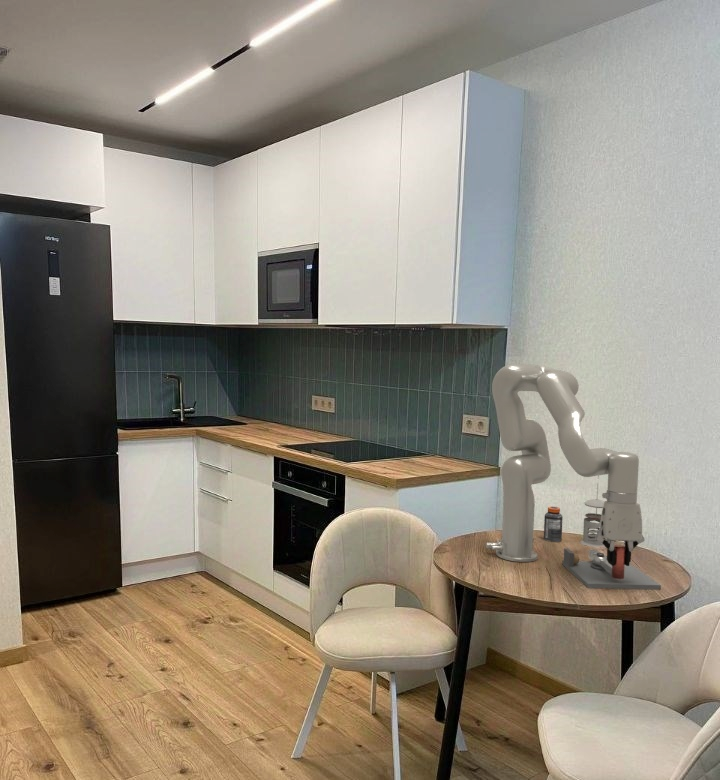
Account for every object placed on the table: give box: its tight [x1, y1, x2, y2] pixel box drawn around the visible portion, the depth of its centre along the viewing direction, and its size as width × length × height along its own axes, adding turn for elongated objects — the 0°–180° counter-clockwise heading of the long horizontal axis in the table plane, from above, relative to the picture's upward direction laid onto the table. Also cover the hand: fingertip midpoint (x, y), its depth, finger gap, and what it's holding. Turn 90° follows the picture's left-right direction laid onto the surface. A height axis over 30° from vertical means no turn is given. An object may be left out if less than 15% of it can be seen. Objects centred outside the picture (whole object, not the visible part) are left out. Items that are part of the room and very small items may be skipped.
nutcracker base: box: [562, 547, 662, 590], centre depth 182 cm, size 20×20×5 cm
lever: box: [588, 544, 626, 579], centre depth 182 cm, size 4×19×9 cm, turn 1°
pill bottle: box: [543, 506, 563, 543], centre depth 219 cm, size 6×6×11 cm
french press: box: [579, 475, 607, 548], centre depth 215 cm, size 10×12×25 cm
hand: (618, 563), depth 174 cm, fingers closed on lever, 3 cm apart
